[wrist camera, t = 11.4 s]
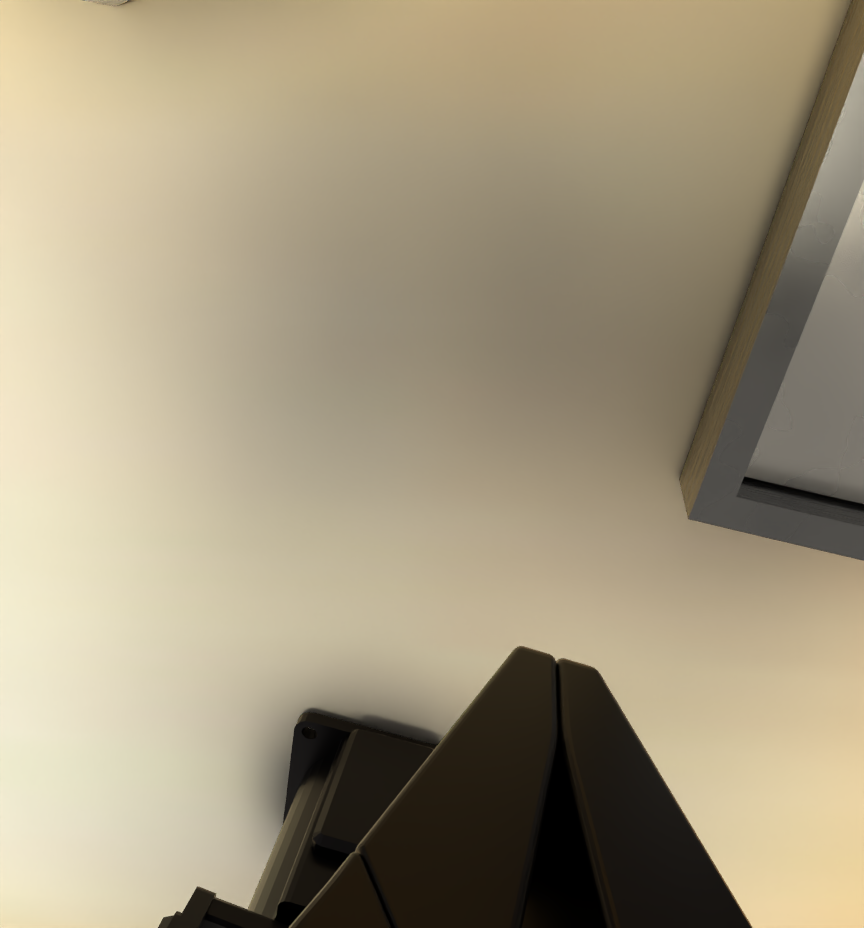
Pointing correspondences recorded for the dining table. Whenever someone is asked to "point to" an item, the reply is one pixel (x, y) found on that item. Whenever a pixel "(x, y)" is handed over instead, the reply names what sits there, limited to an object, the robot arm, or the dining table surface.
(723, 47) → the dining table surface
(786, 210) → the grey shallow square tray
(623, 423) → the dining table surface
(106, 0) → the light bulb box
